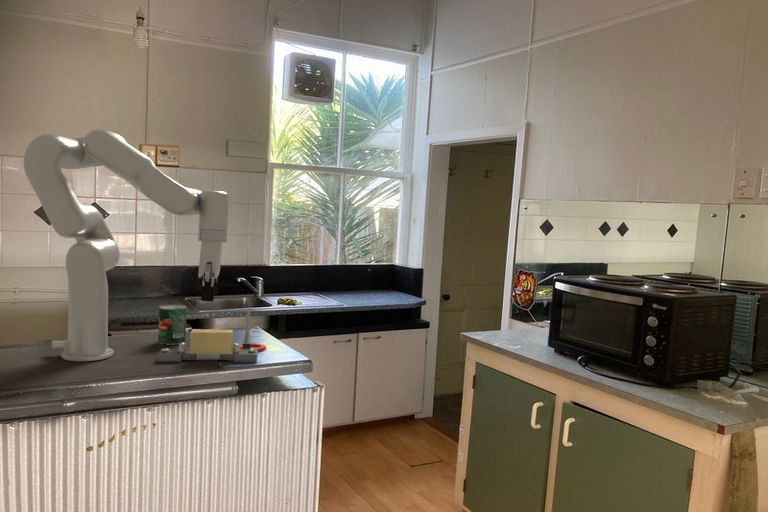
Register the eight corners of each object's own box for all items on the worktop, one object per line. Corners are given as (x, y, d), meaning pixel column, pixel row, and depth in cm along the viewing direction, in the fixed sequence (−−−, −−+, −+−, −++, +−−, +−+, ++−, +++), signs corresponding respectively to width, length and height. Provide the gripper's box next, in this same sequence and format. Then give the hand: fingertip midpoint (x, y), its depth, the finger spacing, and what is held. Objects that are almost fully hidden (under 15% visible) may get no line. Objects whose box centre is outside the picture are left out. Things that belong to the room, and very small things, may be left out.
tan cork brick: (189, 353, 158) (190, 332, 157) (191, 350, 162) (192, 329, 161) (231, 354, 160) (232, 332, 159) (232, 350, 164) (232, 329, 163)
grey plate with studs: (157, 362, 155) (157, 345, 155) (161, 356, 161) (162, 340, 161) (256, 362, 160) (257, 346, 160) (257, 356, 166) (257, 341, 166)
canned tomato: (152, 343, 175) (153, 307, 174) (167, 338, 182) (168, 303, 182) (176, 346, 173) (177, 309, 172) (190, 340, 181) (191, 305, 180)
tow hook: (243, 345, 180) (231, 351, 171) (246, 304, 179) (234, 307, 170) (269, 348, 179) (258, 354, 169) (272, 306, 178) (261, 310, 169)
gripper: (202, 233, 166) (198, 292, 167) (194, 237, 149) (190, 302, 150) (229, 235, 167) (225, 293, 168) (224, 239, 150) (220, 304, 152)
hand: (209, 298), depth 159 cm, fingers open, 9 cm apart
